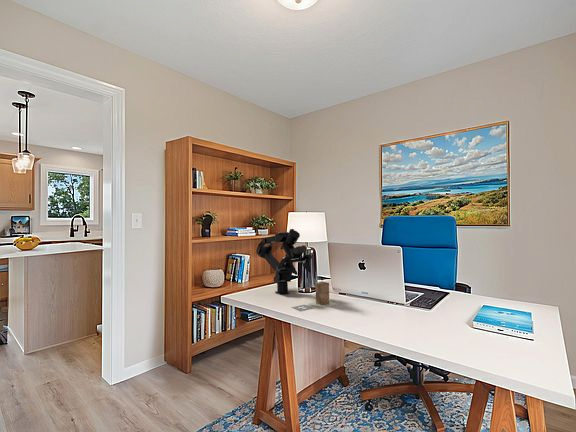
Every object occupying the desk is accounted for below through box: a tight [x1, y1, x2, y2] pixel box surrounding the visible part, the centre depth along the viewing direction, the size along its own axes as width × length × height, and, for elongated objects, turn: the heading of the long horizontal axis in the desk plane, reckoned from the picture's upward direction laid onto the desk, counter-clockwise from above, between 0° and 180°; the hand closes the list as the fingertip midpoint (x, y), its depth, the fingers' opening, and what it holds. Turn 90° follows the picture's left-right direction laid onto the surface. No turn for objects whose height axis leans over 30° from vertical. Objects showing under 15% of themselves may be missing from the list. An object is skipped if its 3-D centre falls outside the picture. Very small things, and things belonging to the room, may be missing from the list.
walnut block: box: [315, 281, 330, 305], centre depth 151 cm, size 5×5×10 cm
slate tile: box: [290, 304, 315, 312], centre depth 145 cm, size 8×8×1 cm
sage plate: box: [308, 300, 337, 309], centre depth 151 cm, size 10×10×1 cm
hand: (303, 273), depth 161 cm, fingers open, 9 cm apart
